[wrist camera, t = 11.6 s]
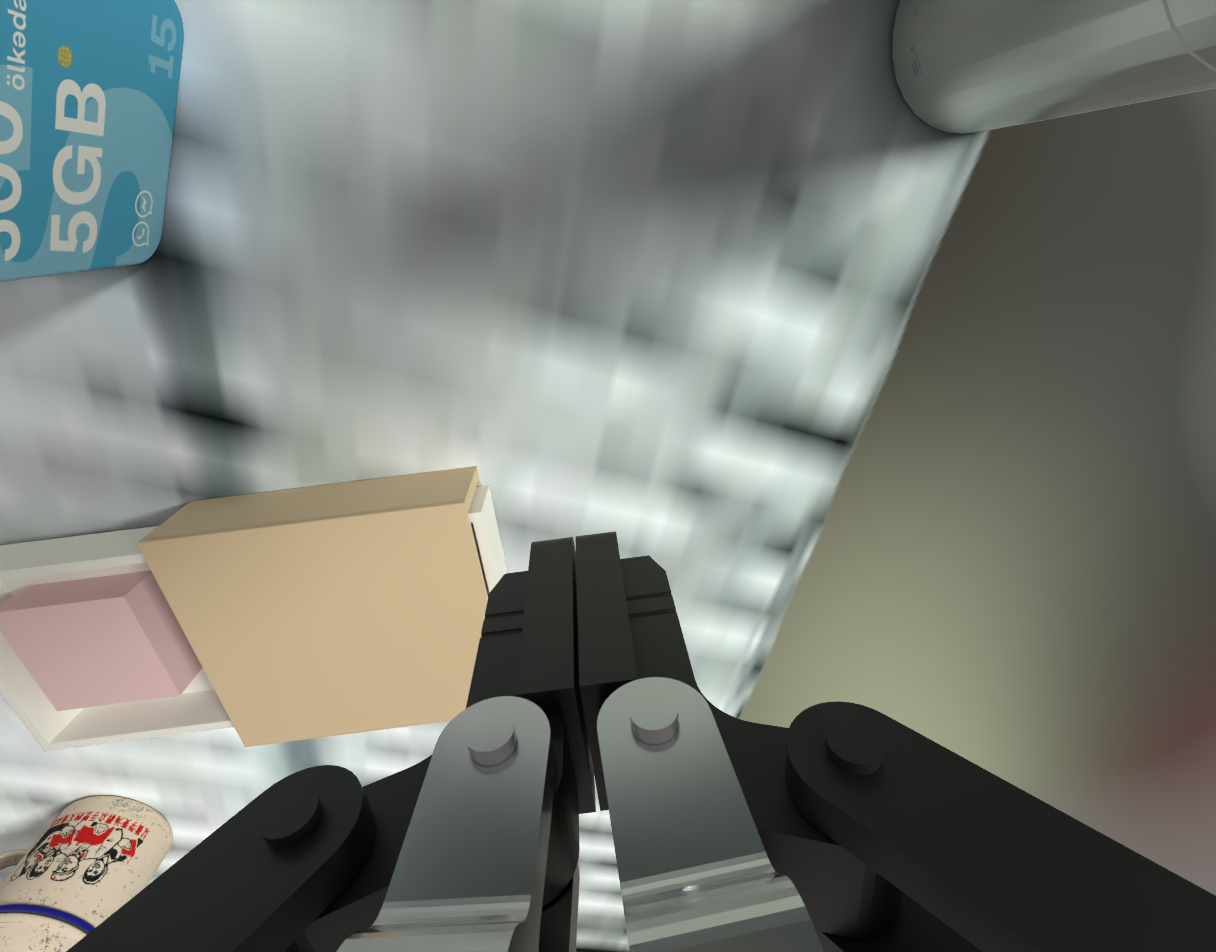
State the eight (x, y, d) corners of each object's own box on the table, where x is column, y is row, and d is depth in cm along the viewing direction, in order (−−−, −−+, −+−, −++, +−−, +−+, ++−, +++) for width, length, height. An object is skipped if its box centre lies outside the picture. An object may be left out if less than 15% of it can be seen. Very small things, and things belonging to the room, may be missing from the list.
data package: (161, 263, 30) (-66, 293, 19) (64, 226, 29) (-231, 237, 18) (190, 3, 26) (-81, -146, 15) (78, -51, 25) (-298, -251, 14)
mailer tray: (488, 485, 36) (481, 512, 33) (524, 653, 42) (521, 690, 39) (-26, 548, 36) (-83, 581, 32) (84, 709, 41) (44, 751, 38)
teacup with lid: (175, 796, 47) (61, 967, 36) (181, 865, 50) (80, 1039, 40) (8, 781, 45) (-164, 957, 34) (27, 854, 48) (-123, 1034, 38)
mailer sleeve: (476, 466, 36) (463, 502, 32) (519, 659, 43) (513, 712, 39) (190, 501, 36) (136, 543, 31) (279, 690, 43) (245, 746, 38)
